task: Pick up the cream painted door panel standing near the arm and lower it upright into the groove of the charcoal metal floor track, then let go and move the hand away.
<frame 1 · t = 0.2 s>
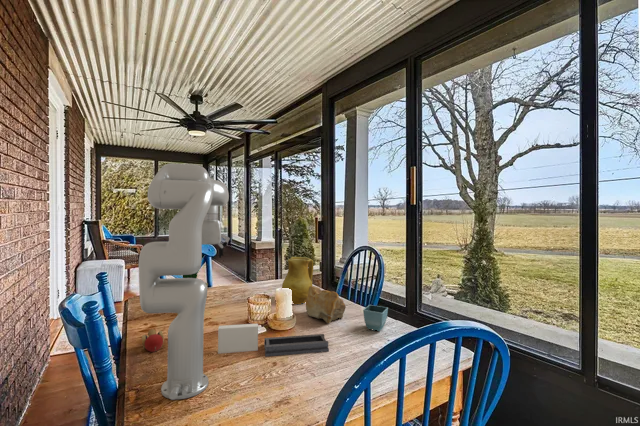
hand: (208, 257, 135), 31 cm above the table, tool pointing down, fingers open, 9 cm apart
rough brown rock: (328, 318, 152), on the table
potted cactus: (190, 316, 152), on the table
pitcher: (298, 301, 178), on the table
door panel: (238, 350, 116), on the table
kendama: (152, 345, 120), on the table
floor track: (295, 348, 119), on the table
flower pot: (375, 329, 139), on the table
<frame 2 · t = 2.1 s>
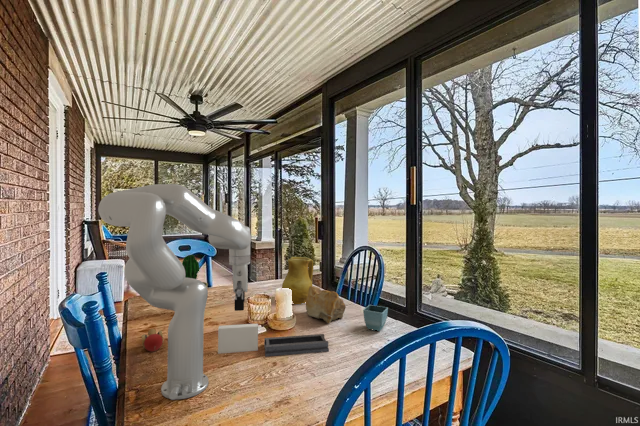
hand: (239, 305, 117), 16 cm above the table, tool pointing down, fingers open, 9 cm apart
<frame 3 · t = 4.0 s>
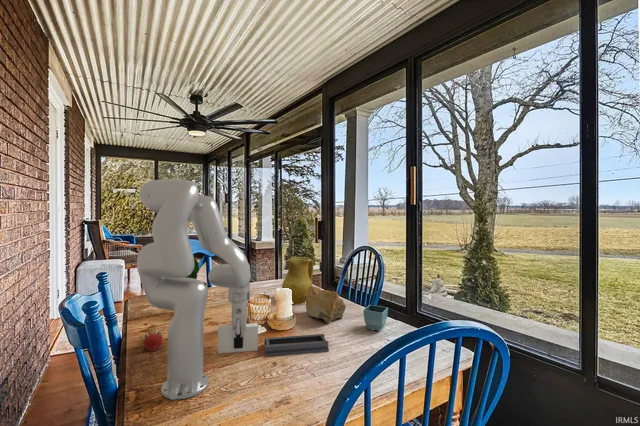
hand: (238, 345, 116), 2 cm above the table, tool pointing down, fingers closed on door panel, 3 cm apart
door panel: (238, 350, 116), on the table, touching gripper
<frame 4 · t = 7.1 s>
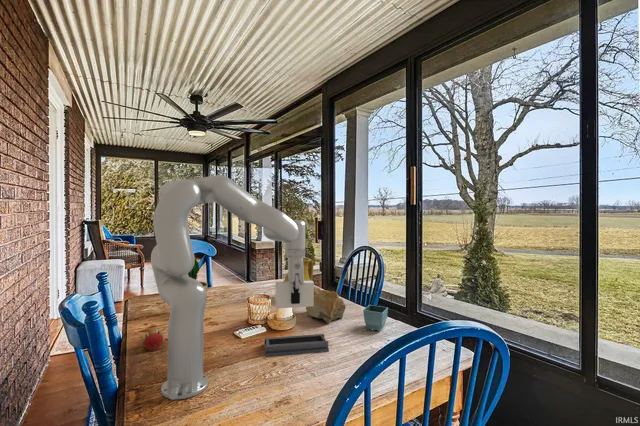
hand: (294, 301, 119), 17 cm above the table, tool pointing down, fingers closed on door panel, 3 cm apart
door panel: (294, 306, 119), point 16 cm above the table, touching gripper
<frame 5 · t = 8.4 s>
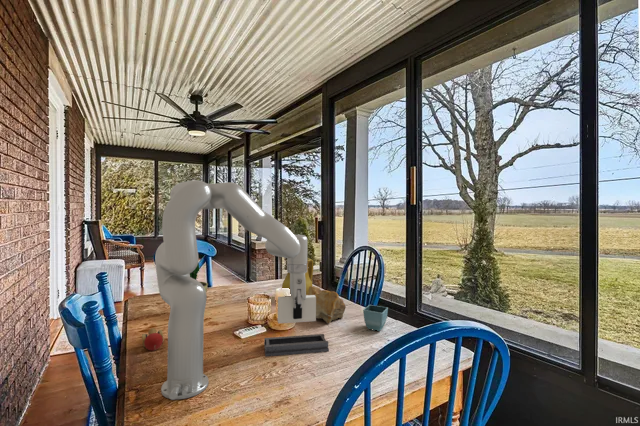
hand: (296, 316, 119), 12 cm above the table, tool pointing down, fingers closed on door panel, 3 cm apart
door panel: (296, 320, 119), point 10 cm above the table, touching gripper
when the fingers open (4 cm above the table, at t = 10.0 s): door panel stays where it is, resting on floor track.
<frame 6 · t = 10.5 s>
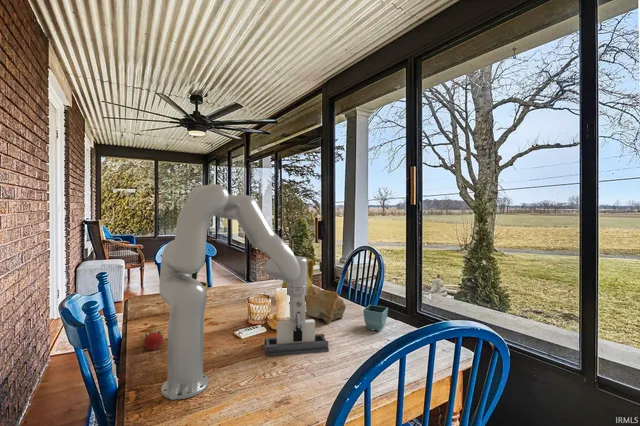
hand: (296, 336, 119), 4 cm above the table, tool pointing down, fingers open, 8 cm apart
door panel: (295, 345, 119), point 1 cm above the table, touching floor track
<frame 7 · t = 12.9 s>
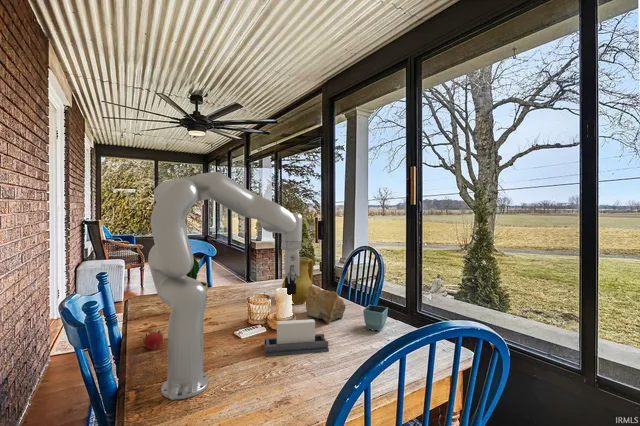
hand: (290, 290, 119), 21 cm above the table, tool pointing down, fingers open, 9 cm apart
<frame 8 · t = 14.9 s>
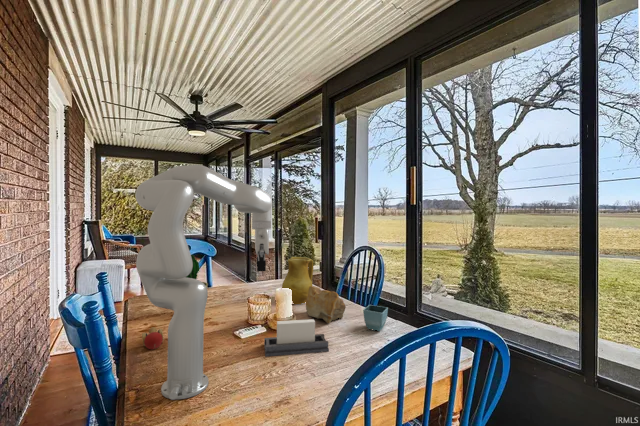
hand: (260, 268, 125), 28 cm above the table, tool pointing down, fingers open, 9 cm apart
at the end: door panel inside the target area on the floor track (0.1 cm from its centre), point 1.0 cm above the floor track's base; door panel tilted 0°; the gripper is holding nothing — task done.
